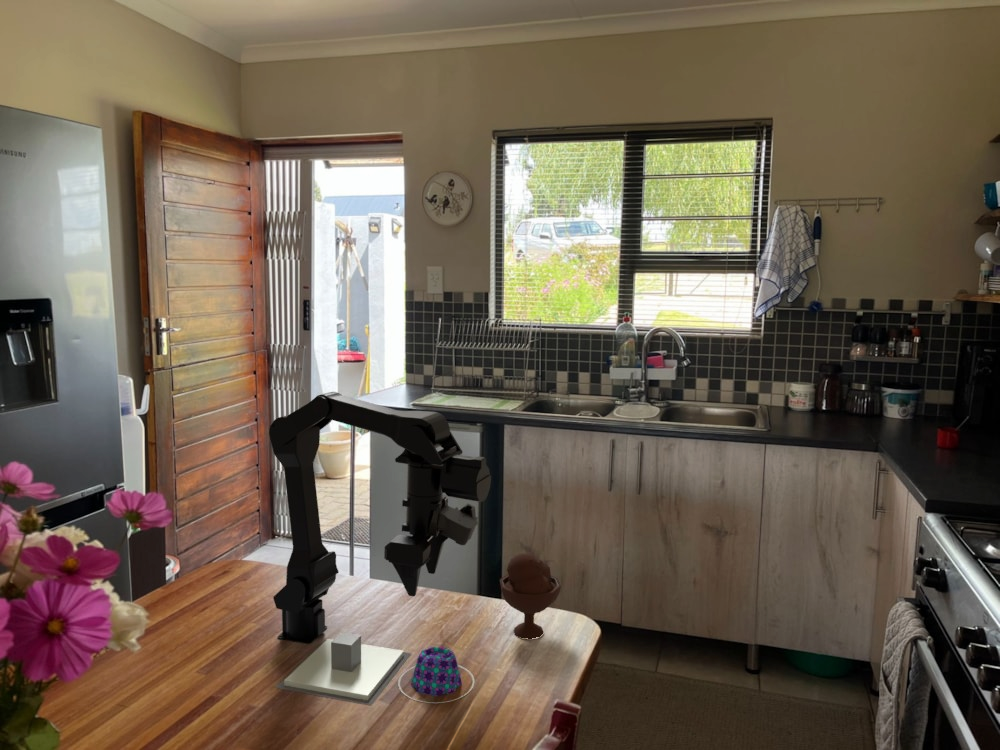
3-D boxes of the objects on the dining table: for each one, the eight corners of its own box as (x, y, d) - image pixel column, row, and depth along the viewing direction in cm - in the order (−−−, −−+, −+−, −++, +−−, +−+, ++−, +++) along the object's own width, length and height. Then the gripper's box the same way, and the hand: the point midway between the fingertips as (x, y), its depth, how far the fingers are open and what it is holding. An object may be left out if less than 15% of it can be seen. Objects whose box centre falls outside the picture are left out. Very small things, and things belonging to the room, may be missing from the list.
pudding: (484, 673, 122) (485, 643, 122) (458, 714, 111) (459, 681, 110) (416, 660, 126) (416, 631, 125) (384, 699, 115) (384, 666, 114)
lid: (284, 685, 116) (283, 653, 116) (327, 642, 130) (327, 613, 129) (367, 700, 113) (367, 667, 112) (403, 655, 126) (403, 625, 125)
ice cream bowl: (555, 650, 130) (558, 567, 128) (492, 642, 132) (494, 560, 130) (563, 622, 140) (565, 545, 138) (504, 616, 142) (505, 539, 140)
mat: (275, 690, 116) (275, 687, 116) (325, 641, 131) (325, 639, 131) (371, 707, 112) (371, 705, 112) (411, 655, 127) (411, 653, 127)
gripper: (455, 516, 110) (451, 616, 112) (488, 481, 128) (485, 569, 130) (384, 506, 112) (381, 605, 115) (426, 474, 130) (424, 560, 133)
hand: (422, 584), depth 123 cm, fingers open, 9 cm apart
